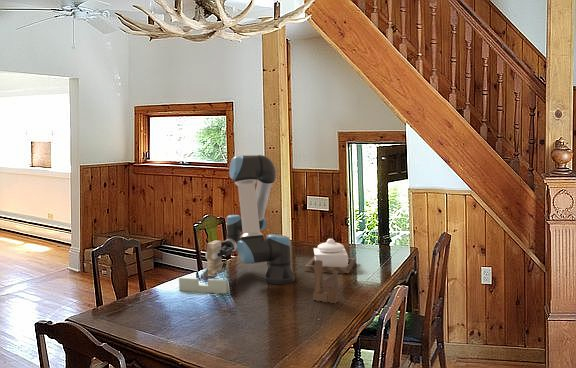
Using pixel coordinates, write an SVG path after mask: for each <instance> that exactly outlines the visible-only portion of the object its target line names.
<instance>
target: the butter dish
mask: <svg viewBox="0 0 576 368" xmlns="http://www.w3.org/2000/svg"><path fill="white" fill-rule="evenodd" d="M313 253H314V254H313V255H314V256H315V261H316V260H321V261H322V266H329V267H347V266H348V258H349V255H348V252H347V250H346V248H345V246H344V244H342V243H340V242H336V241H335V240H334V239H333V238H328V239H327V240H326V241H325V242H322V243H319V244H318V245H317V247H313Z"/></svg>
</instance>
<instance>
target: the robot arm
mask: <svg viewBox="0 0 576 368" xmlns="http://www.w3.org/2000/svg"><path fill="white" fill-rule="evenodd" d="M228 171H229V173H228V174H229V178H230V179H231V180H233V181H234V184H235V185H236V186H237V191H238V200H239V211H240V215H239V214H229V215H227V216H226V223H225V225H226V239H225V240H223V241H221V250H220V251H218V252H216V253H214V254H213V258H214V259H216V258H218V257H220V256H222V257H223V256H224V257H227V256H229V255H231V254H235V253H236V251H237V254H238V255H237V256H238V257H239V259H240V261H241V262H242V263H243V264H246V265H248V264H257V263H260V264H261V263H267V268H266V269H265V274H264V282H265V283H268V284H273V285H282V284H283V285H285V284H290V283H293V282H294V281H295V274H294V271H293V268H292V263H291V258H292V257H291V255H292V254H291V253H292V252H291V247H292V245H291V238H290V237H289V236H287V235H283V234H274V233H273V234H272V233H271V234H267V236H266V238H265V236H264V234H263V233H262V232H261V231H263V230H266V228H267V219H266V217H265V213H266V210H267V206H268V201H269V198H270V197H269V196H270V192H271V189H272V184H274V183H275V181H276V176H277V175H276V174H277V171H276V167H275V164H274V163H273V161H272V160H271V159H270V158H269V157H268V156H266V155H262V154H257V155H256V154H255V155H254V154H253V155H251V154H250V155H249V154H247V155H237V156H233V157H232V158H231V161H230V163H229V170H228ZM241 233H242V234H241ZM205 259H206V260H207V249H206V250H205Z"/></svg>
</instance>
